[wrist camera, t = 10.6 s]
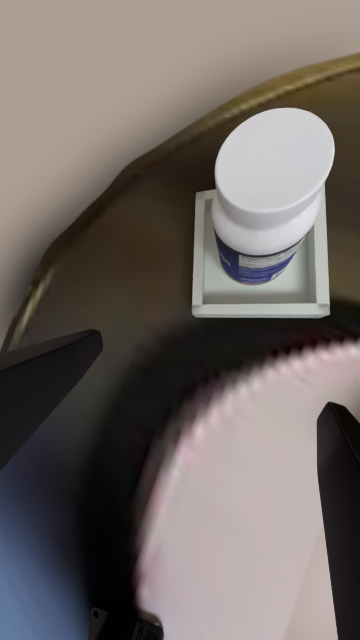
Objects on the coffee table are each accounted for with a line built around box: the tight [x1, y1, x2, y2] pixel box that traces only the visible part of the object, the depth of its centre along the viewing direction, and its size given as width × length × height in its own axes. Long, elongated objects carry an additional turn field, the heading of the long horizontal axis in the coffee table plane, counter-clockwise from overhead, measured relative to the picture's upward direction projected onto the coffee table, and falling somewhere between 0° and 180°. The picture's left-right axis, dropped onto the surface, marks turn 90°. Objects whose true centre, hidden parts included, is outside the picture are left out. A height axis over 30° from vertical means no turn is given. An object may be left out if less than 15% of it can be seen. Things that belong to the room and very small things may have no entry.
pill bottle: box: [211, 108, 335, 286], centre depth 13 cm, size 6×6×10 cm
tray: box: [192, 184, 330, 318], centre depth 18 cm, size 11×10×2 cm
